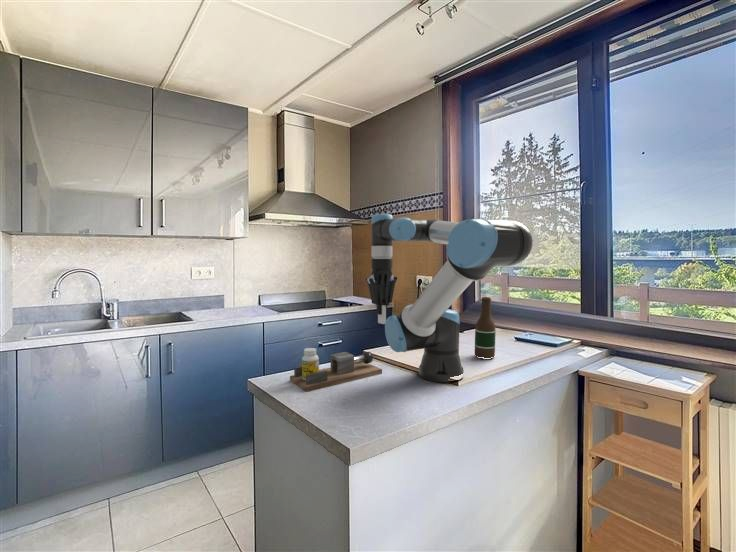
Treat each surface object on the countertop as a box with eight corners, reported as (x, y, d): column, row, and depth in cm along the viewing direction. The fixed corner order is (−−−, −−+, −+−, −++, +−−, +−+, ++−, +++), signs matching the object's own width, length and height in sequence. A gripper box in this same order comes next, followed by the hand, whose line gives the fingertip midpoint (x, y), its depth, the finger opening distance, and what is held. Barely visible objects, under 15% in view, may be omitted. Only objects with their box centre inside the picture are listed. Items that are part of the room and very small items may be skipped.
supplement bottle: (321, 376, 127) (321, 348, 126) (314, 382, 122) (314, 352, 121) (306, 375, 129) (306, 346, 128) (299, 380, 123) (298, 350, 123)
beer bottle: (495, 360, 150) (497, 299, 148) (475, 359, 152) (476, 298, 150) (493, 354, 158) (495, 296, 156) (473, 353, 159) (475, 295, 157)
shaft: (372, 364, 137) (372, 352, 137) (340, 371, 130) (340, 359, 129) (366, 361, 140) (366, 350, 140) (334, 368, 133) (334, 356, 132)
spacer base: (382, 373, 135) (382, 353, 134) (306, 391, 118) (306, 368, 117) (362, 364, 145) (362, 345, 144) (289, 380, 128) (289, 359, 127)
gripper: (389, 257, 146) (388, 319, 147) (361, 258, 138) (361, 323, 140) (402, 257, 140) (402, 322, 142) (374, 258, 132) (374, 327, 134)
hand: (381, 323), depth 141 cm, fingers closed
